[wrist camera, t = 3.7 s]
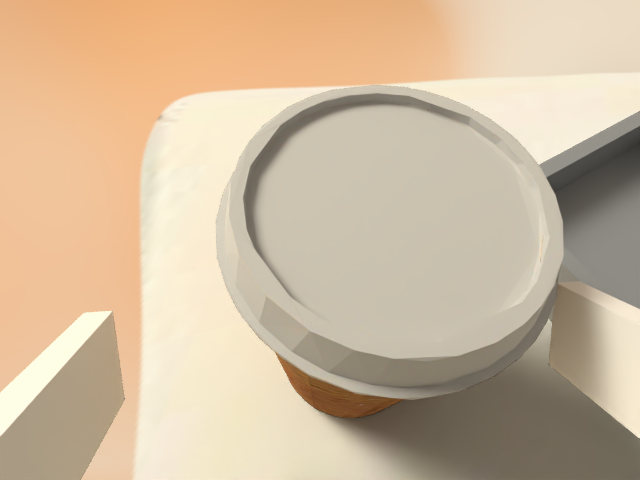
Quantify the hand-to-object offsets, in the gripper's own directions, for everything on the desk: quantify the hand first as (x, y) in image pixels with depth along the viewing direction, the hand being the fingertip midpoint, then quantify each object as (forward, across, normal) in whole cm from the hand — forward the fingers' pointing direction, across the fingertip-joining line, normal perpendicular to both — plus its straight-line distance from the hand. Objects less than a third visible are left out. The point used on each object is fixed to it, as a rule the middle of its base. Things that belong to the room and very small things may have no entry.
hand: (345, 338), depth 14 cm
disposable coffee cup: (+8, +1, -4) cm, 9 cm away
